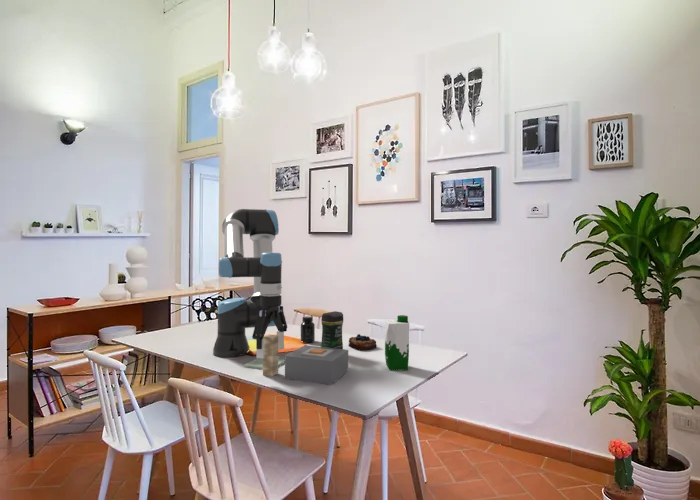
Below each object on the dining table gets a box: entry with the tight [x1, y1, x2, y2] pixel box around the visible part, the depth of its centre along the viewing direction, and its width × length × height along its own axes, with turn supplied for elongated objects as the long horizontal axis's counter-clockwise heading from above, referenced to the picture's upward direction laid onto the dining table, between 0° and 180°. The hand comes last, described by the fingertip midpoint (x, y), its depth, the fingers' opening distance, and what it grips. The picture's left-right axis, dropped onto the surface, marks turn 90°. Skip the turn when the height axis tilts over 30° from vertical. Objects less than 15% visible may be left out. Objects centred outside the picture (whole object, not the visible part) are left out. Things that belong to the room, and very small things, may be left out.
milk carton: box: [384, 314, 410, 371], centre depth 157 cm, size 9×9×20 cm
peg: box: [262, 334, 279, 377], centre depth 148 cm, size 4×4×14 cm
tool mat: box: [243, 358, 285, 370], centre depth 160 cm, size 12×12×1 cm
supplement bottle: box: [300, 316, 316, 344], centre depth 197 cm, size 7×7×12 cm
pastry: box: [348, 333, 378, 351], centre depth 188 cm, size 11×12×6 cm
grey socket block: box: [284, 344, 349, 386], centre depth 148 cm, size 18×16×8 cm
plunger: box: [309, 348, 326, 354], centre depth 148 cm, size 4×4×5 cm
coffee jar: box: [320, 310, 344, 349], centre depth 174 cm, size 10×8×19 cm
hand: (270, 353), depth 148 cm, fingers open, 13 cm apart
